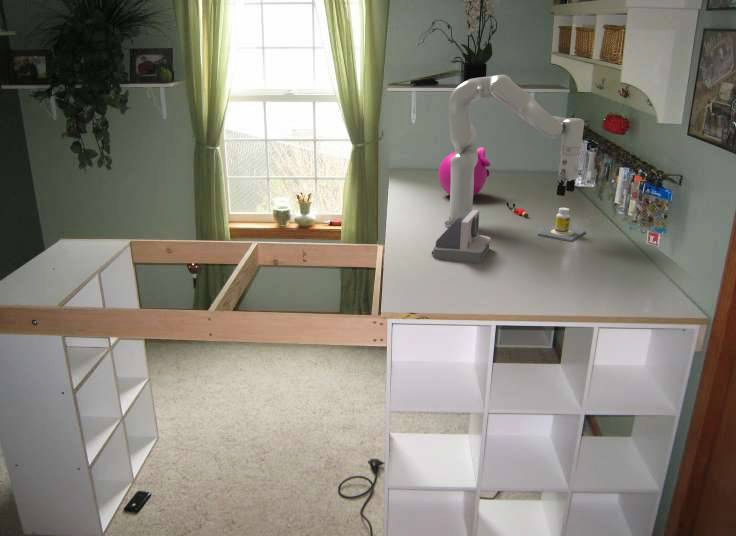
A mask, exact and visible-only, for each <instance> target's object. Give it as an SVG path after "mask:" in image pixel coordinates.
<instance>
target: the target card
mask: <svg viewBox="0 0 736 536" xmlns="http://www.w3.org/2000/svg"><path fill="white" fill-rule="evenodd" d="M586 231H587V230H583V229H577V228H572V227H569V231H568V233H565V234H562V233H557V232H555V224H553V225H551V226H549V227H547V228H545V229H543V230H542V231H540V232H538V233H537V236H539V237H543V238H549V239H555V240H561V241H565V242H569V243H572V242H574V241H575V240H576V239H577V238H579V237H581V236H582V235H584V234H586Z"/></svg>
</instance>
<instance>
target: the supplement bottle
mask: <svg viewBox="0 0 736 536" xmlns="http://www.w3.org/2000/svg"><path fill="white" fill-rule="evenodd" d="M569 213H570V208H568V207H559V208H558V213H557V214H556V216H555V224H554V225H555V232H557V233H562V234H565V233H568V231H569V228H570V220H571V214H569Z"/></svg>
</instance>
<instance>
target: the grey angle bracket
mask: <svg viewBox="0 0 736 536" xmlns="http://www.w3.org/2000/svg"><path fill="white" fill-rule="evenodd" d="M479 221H480V210H479V209H472V211H465V212H464V213H462V214H461V215H460V216H459V217H458V218H457V219H456V220H455V221H454V222H453V224H452V225H451V226H450V227H447V229H446V230H445V231H444V232H443V233H442V234H441V235H440V237H439V238H437V240H436V241H435V245H434V247H433V250H432V251H431V255H433V258H434V259H436V260H437V259H438V260H445V261H446V260H447V261H453V262H454V261H455V262H461V263H470V264H480V263H481V262H482V260H484V257H485V256H486V255H487V253H488V252H489V250H490V246H491V245H490V243H491V240H492V239H491V236H488V235H482V234H480V235H479V226H480V223H479Z"/></svg>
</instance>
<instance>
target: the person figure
mask: <svg viewBox="0 0 736 536" xmlns="http://www.w3.org/2000/svg"><path fill="white" fill-rule="evenodd" d="M506 207H507V208H509V209H510V210H512V213H513V214H514V215H516V214H517V215H516V216H518V215H522V217H523V218H524V217H525V218H524V219H527V218H529V213H527V211H526V210H525V209H524V208H523V206H521V207H520V208H519V207H516V204H515V203H513V204H512V206H511V205H510V204H509V202H506Z"/></svg>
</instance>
